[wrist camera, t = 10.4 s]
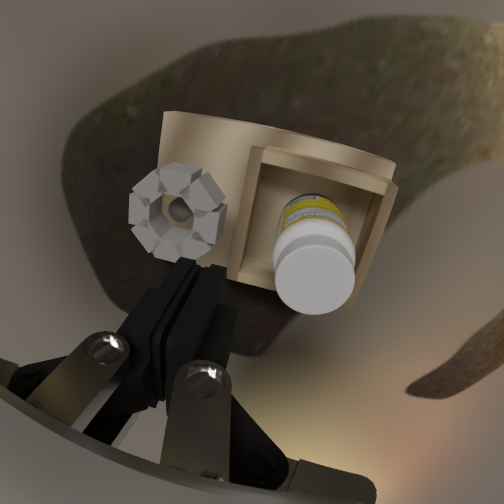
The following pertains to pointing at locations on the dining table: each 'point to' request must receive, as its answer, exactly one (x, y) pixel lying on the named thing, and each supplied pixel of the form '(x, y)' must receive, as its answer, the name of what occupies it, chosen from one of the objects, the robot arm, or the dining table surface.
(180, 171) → the wheel
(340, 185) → the wooden peg tray
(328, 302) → the supplement bottle
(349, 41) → the dining table surface
